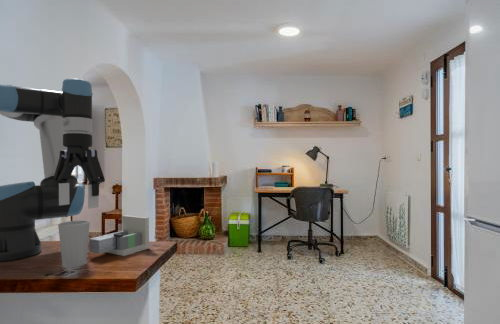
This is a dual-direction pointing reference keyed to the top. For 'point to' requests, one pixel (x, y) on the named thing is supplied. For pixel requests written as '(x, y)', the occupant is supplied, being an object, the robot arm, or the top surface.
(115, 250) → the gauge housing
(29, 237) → the robot arm
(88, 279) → the top surface
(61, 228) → the cup
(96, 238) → the grey rectangular slab
